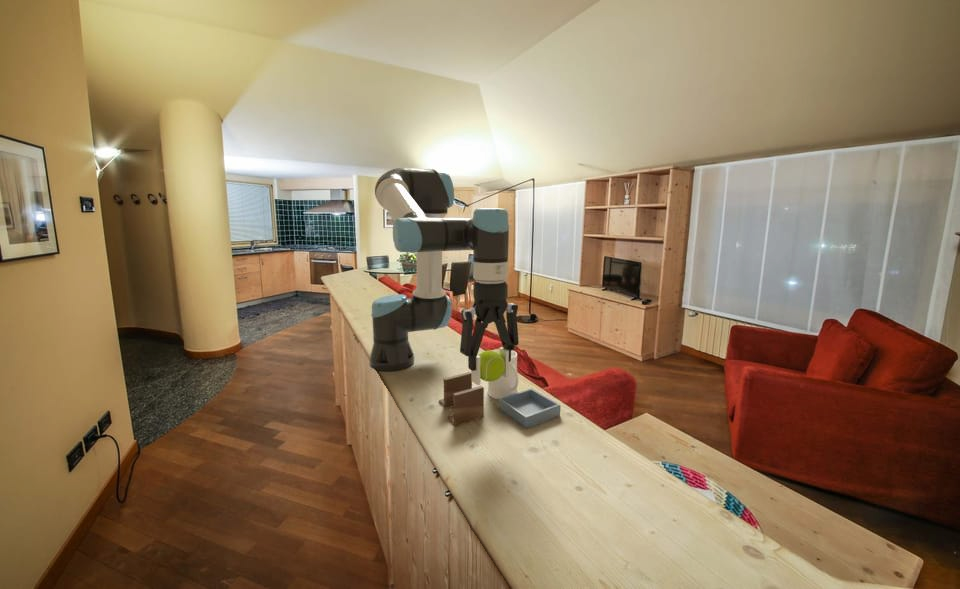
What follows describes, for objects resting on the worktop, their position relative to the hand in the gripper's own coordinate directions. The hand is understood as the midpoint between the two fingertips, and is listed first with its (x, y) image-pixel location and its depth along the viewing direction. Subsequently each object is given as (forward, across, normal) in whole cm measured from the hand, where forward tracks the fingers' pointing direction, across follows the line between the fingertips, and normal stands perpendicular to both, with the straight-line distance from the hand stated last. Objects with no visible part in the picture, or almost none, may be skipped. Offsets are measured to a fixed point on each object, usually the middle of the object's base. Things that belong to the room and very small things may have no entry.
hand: (490, 378), depth 86 cm
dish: (+13, +13, +1) cm, 18 cm away
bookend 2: (+13, -2, +8) cm, 15 cm away
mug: (+13, +13, +12) cm, 22 cm away
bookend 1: (+13, 0, +17) cm, 21 cm away
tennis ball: (+1, 0, 0) cm, 1 cm away
